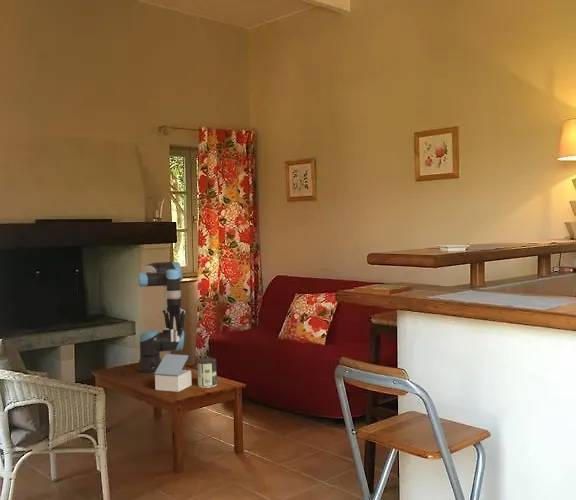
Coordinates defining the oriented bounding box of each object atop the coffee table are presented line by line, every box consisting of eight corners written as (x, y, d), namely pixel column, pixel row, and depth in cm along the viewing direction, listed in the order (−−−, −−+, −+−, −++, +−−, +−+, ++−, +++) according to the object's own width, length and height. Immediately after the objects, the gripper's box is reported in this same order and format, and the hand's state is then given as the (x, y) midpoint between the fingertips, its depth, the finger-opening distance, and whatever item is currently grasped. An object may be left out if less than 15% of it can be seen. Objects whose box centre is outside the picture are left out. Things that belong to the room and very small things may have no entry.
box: (169, 383, 358) (168, 369, 358) (191, 385, 353) (191, 370, 353) (155, 389, 345) (154, 374, 345) (178, 391, 340) (177, 376, 340)
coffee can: (211, 382, 359) (210, 356, 358) (220, 385, 351) (219, 359, 350) (194, 385, 353) (193, 359, 352) (203, 388, 345) (202, 362, 344)
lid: (166, 355, 355) (165, 353, 355) (188, 356, 350) (187, 355, 350) (155, 374, 345) (154, 373, 344) (178, 376, 340) (177, 375, 339)
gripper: (157, 298, 349) (159, 342, 350) (182, 299, 343) (184, 343, 345) (165, 296, 356) (166, 339, 357) (189, 297, 350) (191, 340, 352)
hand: (175, 341), depth 351 cm, fingers open, 2 cm apart
